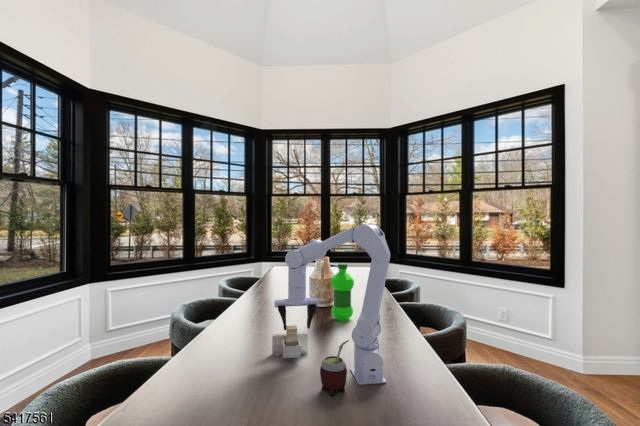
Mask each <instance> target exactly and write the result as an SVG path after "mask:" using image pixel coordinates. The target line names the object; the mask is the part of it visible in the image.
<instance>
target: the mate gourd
mask: <svg viewBox="0 0 640 426" xmlns="http://www.w3.org/2000/svg"><path fill="white" fill-rule="evenodd" d="M348 342H350V339H348V340H345V341H343V342H342V343H341V344H340V345H339V346H338V352H337V355H329V356H326V357H324V358H323V360H322V361H321V363H320V369H319V375H320V382H321V390H322V391H328V392H330V397H331V398H334V396H335V392H336V393H338V392H339V393H345V392H346V388H345V387H346V384H347V383H346V382H347V374H348V373H347V371H348V369H347V364H346V362H345V360H344V359H343V358H342V357H340V355H341V351H342V350H343V347H344V345H345V344H347V343H348Z"/></svg>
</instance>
